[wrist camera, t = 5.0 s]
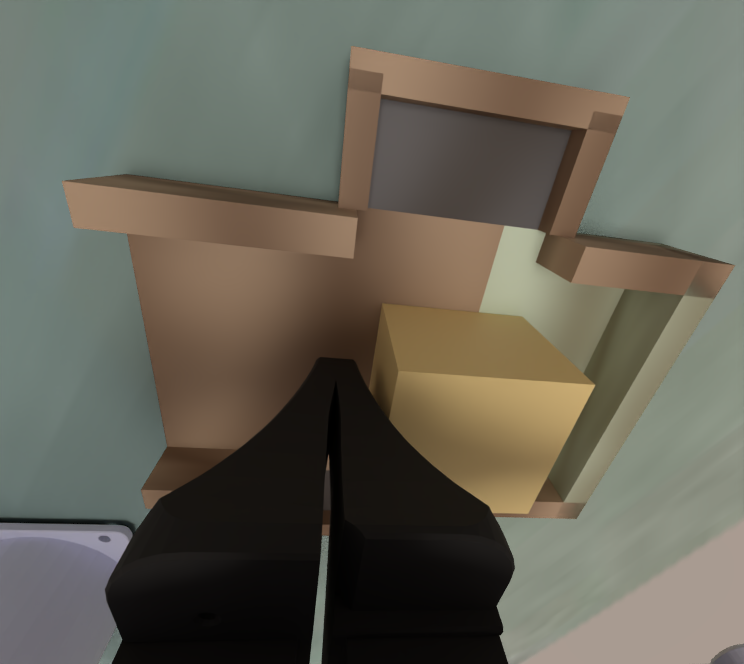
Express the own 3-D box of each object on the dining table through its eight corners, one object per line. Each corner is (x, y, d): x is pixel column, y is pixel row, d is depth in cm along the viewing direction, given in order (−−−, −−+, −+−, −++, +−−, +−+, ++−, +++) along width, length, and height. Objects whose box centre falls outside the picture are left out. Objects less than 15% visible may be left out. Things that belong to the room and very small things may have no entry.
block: (364, 418, 14) (370, 510, 10) (382, 303, 12) (398, 370, 8) (483, 424, 14) (527, 513, 11) (522, 316, 12) (595, 385, 9)
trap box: (185, 508, 16) (159, 564, 14) (98, 12, 8) (5, -39, 6) (522, 516, 18) (546, 566, 16) (722, 125, 10) (827, 118, 8)
